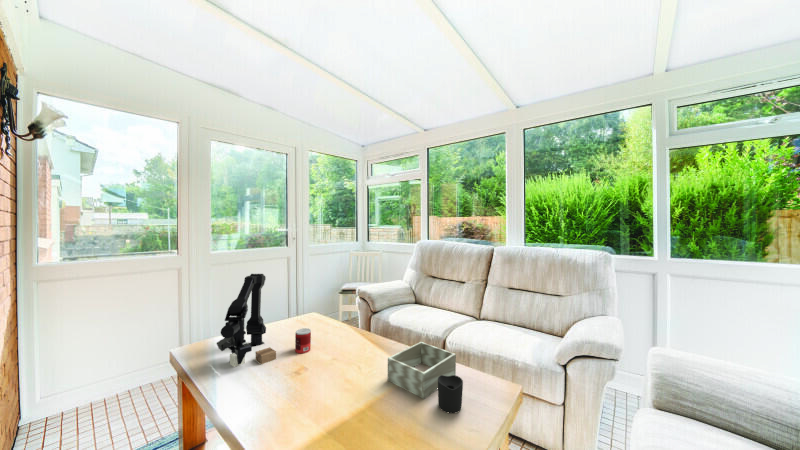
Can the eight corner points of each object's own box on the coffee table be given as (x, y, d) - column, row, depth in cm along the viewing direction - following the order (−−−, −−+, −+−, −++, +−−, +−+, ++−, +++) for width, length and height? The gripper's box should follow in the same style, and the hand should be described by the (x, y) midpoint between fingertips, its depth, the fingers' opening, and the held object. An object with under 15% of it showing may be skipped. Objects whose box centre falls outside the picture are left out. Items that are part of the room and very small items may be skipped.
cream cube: (229, 364, 141) (229, 354, 141) (240, 360, 145) (240, 350, 145) (233, 368, 138) (233, 357, 138) (244, 364, 142) (244, 353, 142)
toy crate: (387, 380, 129) (387, 357, 129) (420, 361, 147) (420, 341, 147) (423, 399, 116) (424, 373, 116) (455, 375, 134) (455, 353, 134)
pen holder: (445, 396, 118) (445, 371, 118) (466, 405, 112) (467, 379, 112) (432, 407, 111) (433, 381, 111) (454, 418, 105) (455, 390, 105)
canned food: (312, 348, 160) (313, 328, 160) (306, 355, 152) (307, 334, 152) (299, 347, 161) (299, 327, 161) (292, 354, 153) (292, 333, 153)
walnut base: (255, 359, 145) (255, 351, 145) (269, 355, 151) (269, 347, 151) (261, 364, 141) (261, 356, 141) (275, 359, 146) (276, 351, 146)
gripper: (212, 329, 141) (212, 361, 142) (226, 340, 129) (225, 375, 129) (237, 323, 150) (236, 354, 150) (252, 333, 137) (252, 366, 138)
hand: (237, 362), depth 141 cm, fingers closed on cream cube, 5 cm apart
